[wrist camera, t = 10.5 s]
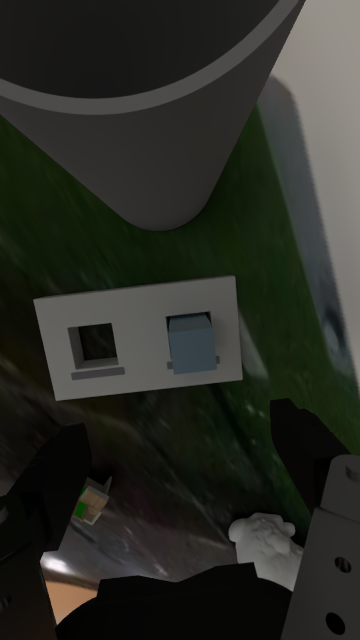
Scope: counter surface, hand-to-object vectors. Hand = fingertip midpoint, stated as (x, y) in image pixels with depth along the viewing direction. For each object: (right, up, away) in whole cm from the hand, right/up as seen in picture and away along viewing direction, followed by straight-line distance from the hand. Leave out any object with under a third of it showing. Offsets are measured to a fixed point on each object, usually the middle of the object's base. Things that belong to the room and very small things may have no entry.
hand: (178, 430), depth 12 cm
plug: (+1, +4, +22) cm, 22 cm away
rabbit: (+13, -27, +28) cm, 41 cm away
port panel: (-4, +3, +22) cm, 22 cm away
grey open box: (-13, -16, +26) cm, 33 cm away
